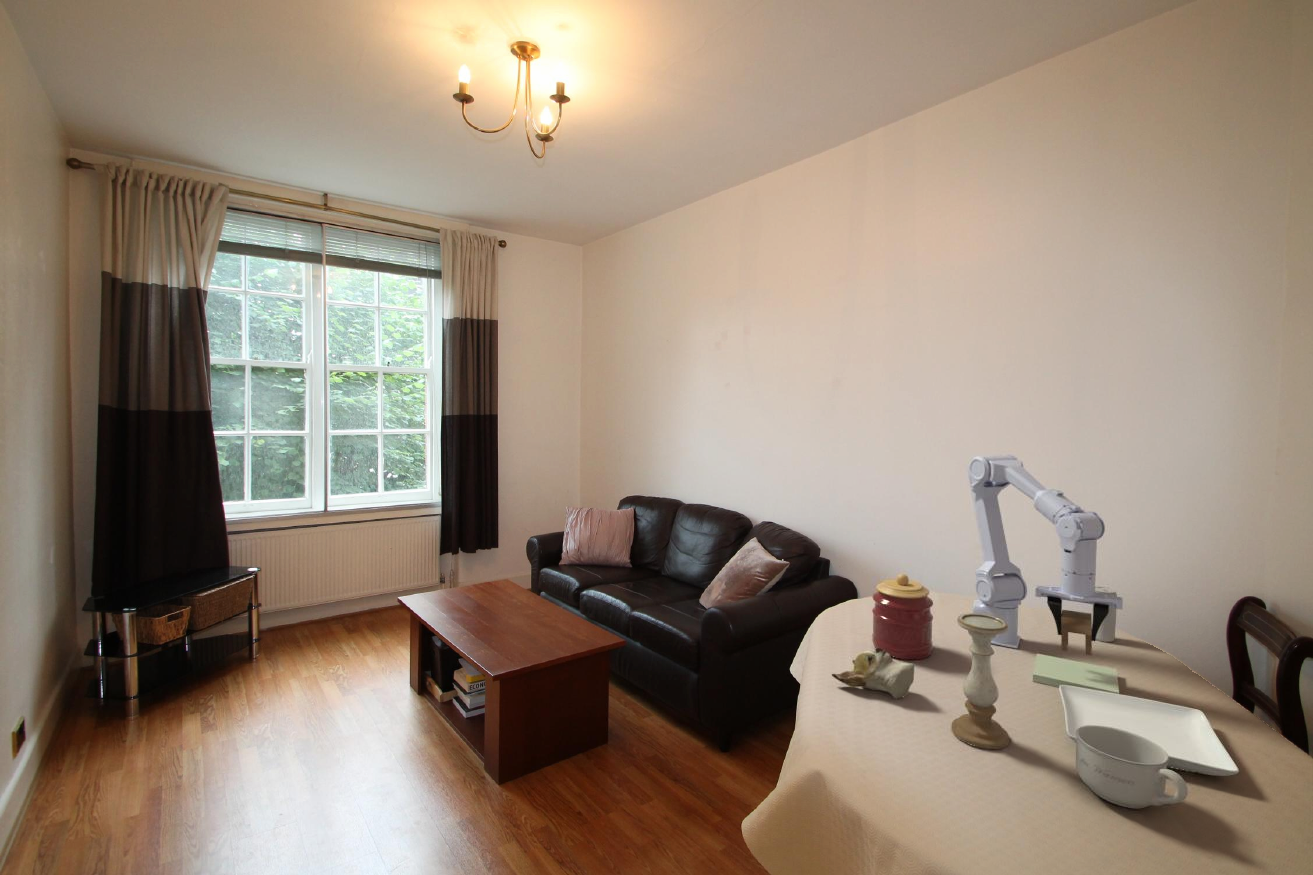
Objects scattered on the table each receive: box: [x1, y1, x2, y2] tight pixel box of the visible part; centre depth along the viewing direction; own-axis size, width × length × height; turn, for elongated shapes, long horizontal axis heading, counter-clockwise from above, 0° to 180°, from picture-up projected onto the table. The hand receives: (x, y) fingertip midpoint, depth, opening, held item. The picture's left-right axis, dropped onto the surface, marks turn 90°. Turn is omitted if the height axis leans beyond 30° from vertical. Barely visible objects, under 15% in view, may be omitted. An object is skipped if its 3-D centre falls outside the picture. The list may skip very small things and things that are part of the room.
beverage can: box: [1090, 586, 1118, 643], centre depth 144 cm, size 5×5×12 cm
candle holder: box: [950, 612, 1010, 750], centre depth 104 cm, size 9×9×20 cm
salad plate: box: [1058, 685, 1240, 777], centre depth 103 cm, size 21×21×3 cm
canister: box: [871, 573, 934, 660], centre depth 140 cm, size 13×13×18 cm
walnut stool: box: [1060, 609, 1093, 656], centre depth 124 cm, size 5×5×7 cm
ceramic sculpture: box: [831, 648, 916, 699], centre depth 122 cm, size 11×9×15 cm
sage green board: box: [1032, 653, 1120, 694], centre depth 125 cm, size 14×12×2 cm
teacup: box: [1075, 725, 1189, 809], centre depth 87 cm, size 14×11×8 cm
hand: (1076, 636), depth 124 cm, fingers closed on walnut stool, 5 cm apart
